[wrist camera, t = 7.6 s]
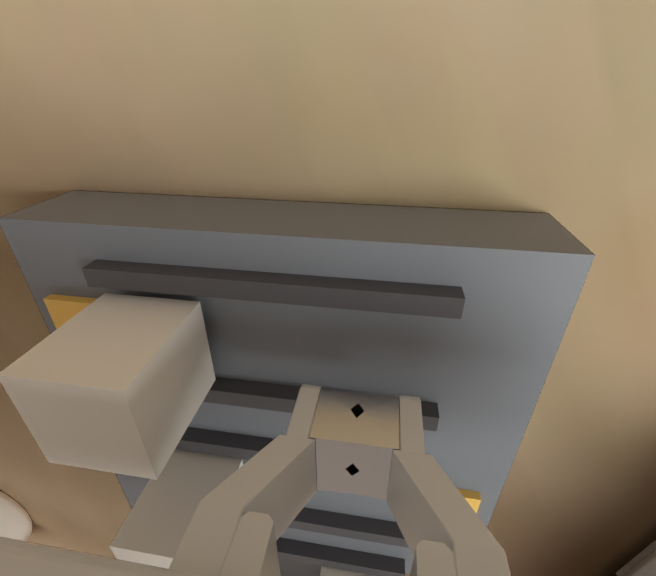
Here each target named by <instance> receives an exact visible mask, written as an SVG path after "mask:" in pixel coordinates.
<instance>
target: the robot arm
mask: <svg viewBox="0 0 656 576" xmlns="http://www.w3.org/2000/svg"><path fill="white" fill-rule="evenodd" d="M316 489H318V490H326V491H335V492H343V493H351V494H356V495H362V496H368V497H373V498H379V499H384V500H387V504H388V506H389V508H390V510H391V512H392V514H393V516H394V518H395V520H396V522H397V524H398V526H399V528H400V530H401V532H402V534H403V537H404V539H405V541H406V543H407V545H408V547H409V549H410V551H411V553H412V555H413V557H414V558H413V563H412V567H411V571H410V576H511V574H510V569H509V565H508V561H507V556H506V552H505V550H504V549H503V548H502V547H501V545H500V544H499V543H498V541H497V540H496V539H495V537H494V536H493V535H492V533H491V532H490V531H489V529H488V528H487V527H486V526H485V524H484V523H483V522H482V520H481V519H480V518H479V516H478V515H477V514H476V512H475V511H474V510H473V508H472V507H471V506H470V505H469V503H468V502H467V501H466V499H465V498H464V497H463V495H462V494H461V493H460V491H459V490H458V489H457V487H456V486H455V485H454V484H453V482H452V481H451V480H450V478H449V477H448V476H447V474H446V473H445V472H444V470H443V469H442V468H441V466H440V465H439V464H438V463H437V461H436V460H435V459H434V457H433V456H432V455H430V454H425V446H424V433H423V421H422V409H421V400H420V398H419V397H414V396H404V395H399V396H398V395H394V394H384V393H375V392H365V391H354V390H347V389H340V388H332V387H325V386H315V385H308V384H303V385H302V386H301V388H300V390H299V393H298V397H297V400H296V403H295V406H294V409H293V413H292V416H291V419H290V422H289V426H288V429H287V432H286V435H279V436H277V437H276V438H275V439H274V440H273V441H271V442H270V443H269V444H268V445H267V446H265V447H264V448H263V449H262V450H261V451H259V452H258V453H257V454H256V455H255V456H253V457H252V458H251V459H250V460H249V461H247V462H246V463H245V464H244V465H243V466H241V467H240V468H239V469H238V470H237V471H235V472H234V473H233V474H232V475H231V476H229V477H228V478H227V479H226V480H225V481H223V482H222V483H221V484H220V485H219V486H217V487H216V488H215V489H214V490H213V491H211V492H210V493H209V494H208V495H207V496H205V497H204V498H203V499H202V500H201V501H200V502H199V504H198V507H197V509H196V511H195V513H194V515H193V517H192V520H191V522H190V524H189V526H188V528H187V530H186V532H185V535H184V537H183V539H182V541H181V543H180V545H179V547H178V550H177V552H176V554H175V556H174V558H173V560H172V562H171V565H170V567H169V569H167V568H161V567H156V566H151V565H146V564H141V563H135V562H130V561H125V560H120V559H115V558H109V557H104V556H99V555H94V554H89V553H83V552H78V551H73V550H68V549H63V548H57V547H52V546H47V545H42V544H37V543H31V542H26V541H21V540H16V539H11V538H5V537H0V576H281V575H280V567H279V559H278V552H277V544H276V541H277V540H278V538H279V537H280V536H281V535H282V534H283V532H284V531H285V530H286V529H287V527H288V526H289V525H290V524H291V522H292V521H293V520H294V519H295V518H296V516H297V515H298V514H299V513H300V511H301V510H302V509H303V508H304V506H305V505H306V504H307V503H308V502H309V500H310V499H311V498H312V497H313V495H314V494H315V493H316Z"/></svg>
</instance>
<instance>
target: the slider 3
mask: <svg viewBox="0 0 656 576" xmlns="http://www.w3.org/2000/svg"><path fill="white" fill-rule="evenodd" d="M320 576H373V575H368V574H362V573H357V572H351V571H345V570H340V569H334V568H329V567H323V566H321V572H320Z"/></svg>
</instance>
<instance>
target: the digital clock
mask: <svg viewBox="0 0 656 576" xmlns="http://www.w3.org/2000/svg"><path fill="white" fill-rule="evenodd" d="M616 575H617V576H656V540H655V541H654V542H652V543H651V544H650V545H649V546H648V547H646V548H645V549H644V550H643V551H641V552H640V553H639V554H638V555H637V556H635V557H634V558H633V559H632V560H631V561H629V562H628V563H627V564H626V565H624V566H623V567H622V568H621V569H620V570H618V571H617V572H616Z"/></svg>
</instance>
